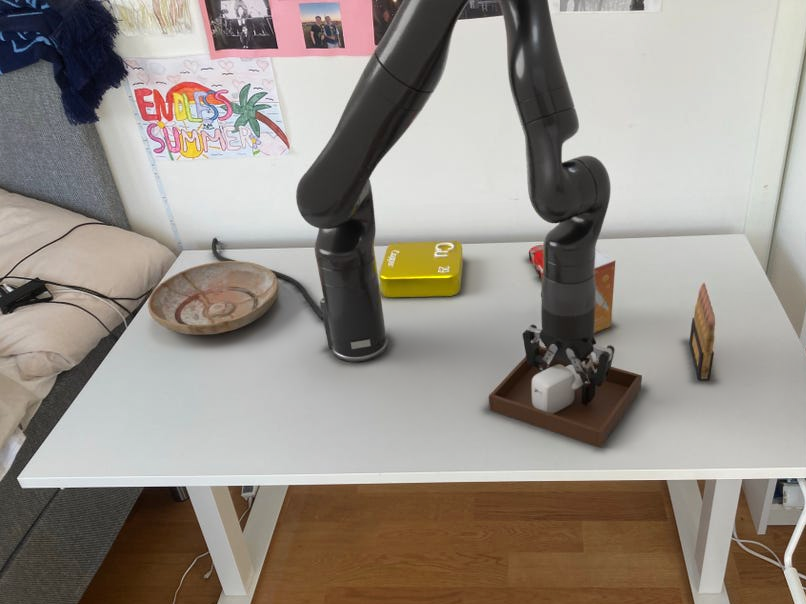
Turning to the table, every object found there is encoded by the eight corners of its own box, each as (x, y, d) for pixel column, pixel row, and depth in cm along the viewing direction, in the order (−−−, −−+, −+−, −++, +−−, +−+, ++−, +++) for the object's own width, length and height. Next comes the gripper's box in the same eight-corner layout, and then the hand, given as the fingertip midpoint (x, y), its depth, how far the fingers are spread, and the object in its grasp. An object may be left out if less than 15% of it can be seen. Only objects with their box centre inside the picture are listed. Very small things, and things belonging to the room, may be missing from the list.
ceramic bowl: (137, 352, 136) (128, 328, 133) (175, 286, 155) (168, 263, 152) (270, 344, 136) (264, 320, 133) (292, 279, 155) (287, 256, 152)
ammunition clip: (688, 342, 130) (697, 279, 124) (700, 342, 130) (709, 279, 123) (697, 380, 122) (707, 315, 115) (710, 381, 121) (720, 315, 115)
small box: (576, 342, 132) (578, 274, 125) (553, 326, 136) (553, 259, 129) (612, 326, 136) (616, 259, 128) (588, 311, 140) (591, 245, 133)
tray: (489, 410, 118) (488, 395, 117) (536, 359, 129) (536, 344, 127) (600, 447, 110) (601, 432, 108) (640, 389, 120) (642, 375, 119)
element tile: (390, 261, 160) (387, 239, 157) (463, 259, 159) (462, 237, 156) (380, 298, 147) (377, 276, 145) (459, 296, 146) (457, 274, 144)
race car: (526, 255, 159) (526, 237, 157) (552, 252, 159) (552, 234, 157) (541, 286, 148) (541, 267, 146) (569, 283, 149) (569, 264, 146)
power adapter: (582, 377, 123) (583, 346, 120) (603, 391, 120) (605, 360, 117) (527, 405, 118) (527, 374, 115) (549, 421, 115) (549, 389, 112)
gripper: (627, 299, 109) (620, 395, 118) (535, 277, 115) (536, 370, 125) (605, 325, 103) (600, 423, 113) (510, 300, 110) (513, 395, 119)
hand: (566, 395), depth 119 cm, fingers closed on power adapter, 6 cm apart
